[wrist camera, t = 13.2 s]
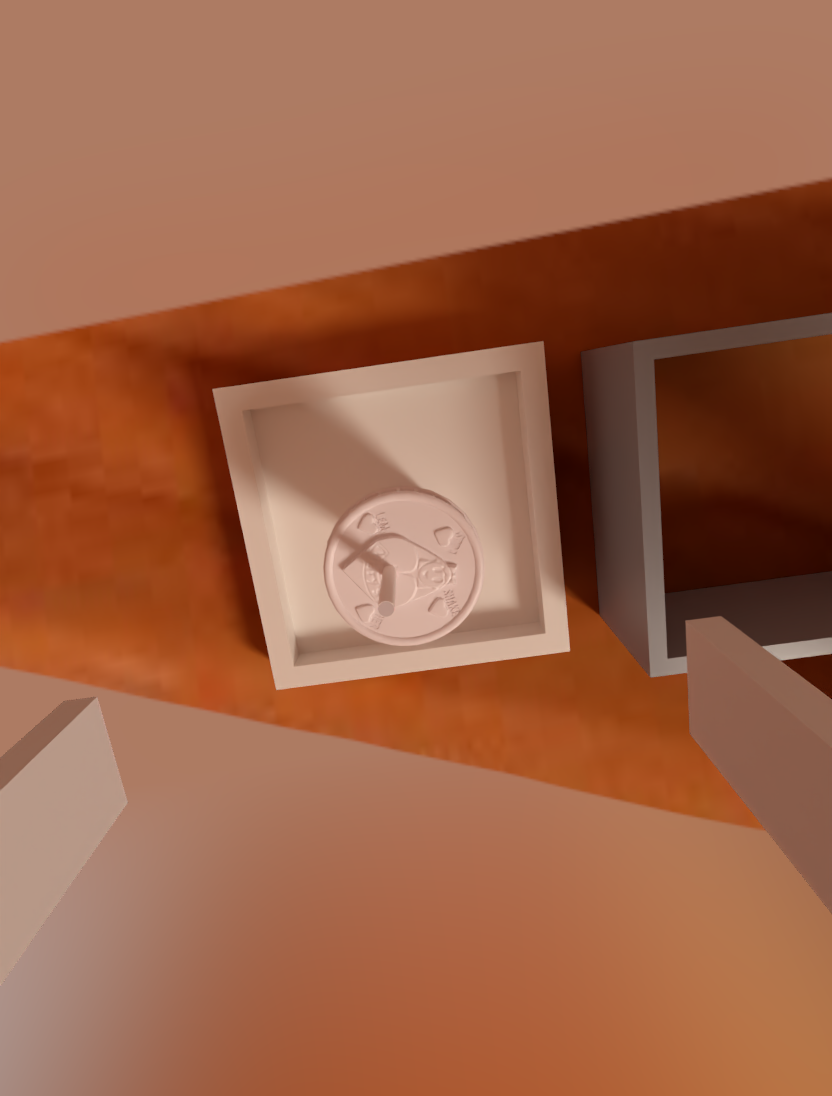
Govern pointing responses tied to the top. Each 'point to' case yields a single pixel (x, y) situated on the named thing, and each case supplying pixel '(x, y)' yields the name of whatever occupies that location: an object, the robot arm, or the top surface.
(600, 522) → the deep bin
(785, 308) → the top surface
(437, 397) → the tray
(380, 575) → the smoothie
